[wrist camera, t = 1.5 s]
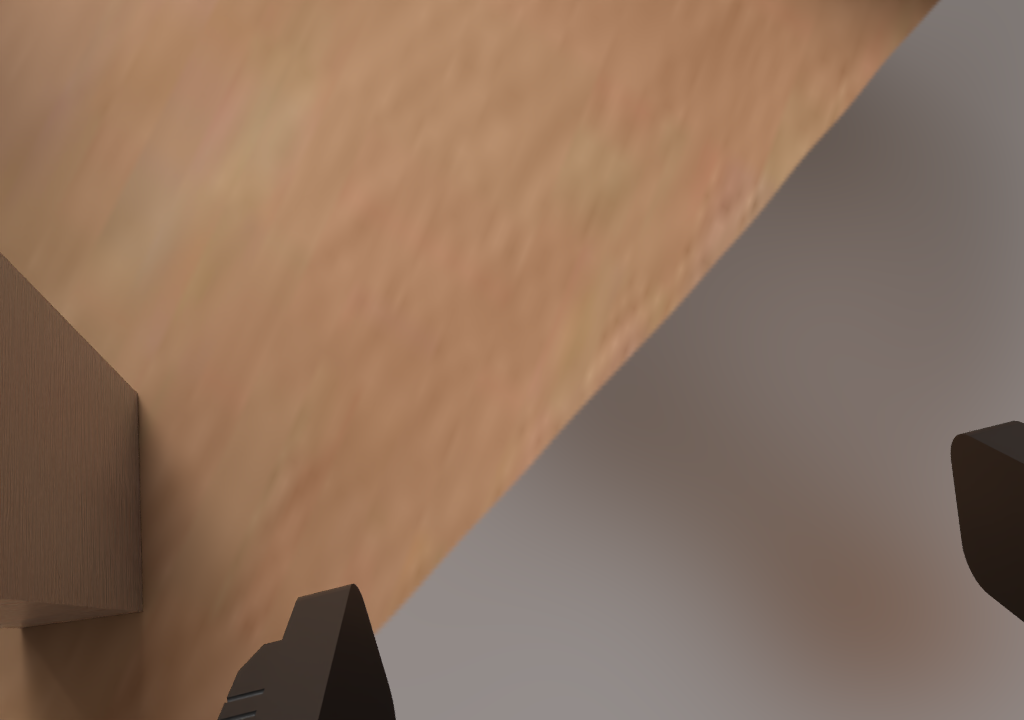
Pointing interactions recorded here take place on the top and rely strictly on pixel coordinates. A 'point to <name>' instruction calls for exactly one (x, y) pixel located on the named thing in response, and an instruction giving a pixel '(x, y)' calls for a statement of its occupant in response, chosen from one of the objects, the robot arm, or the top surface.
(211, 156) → the top surface
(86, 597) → the press
